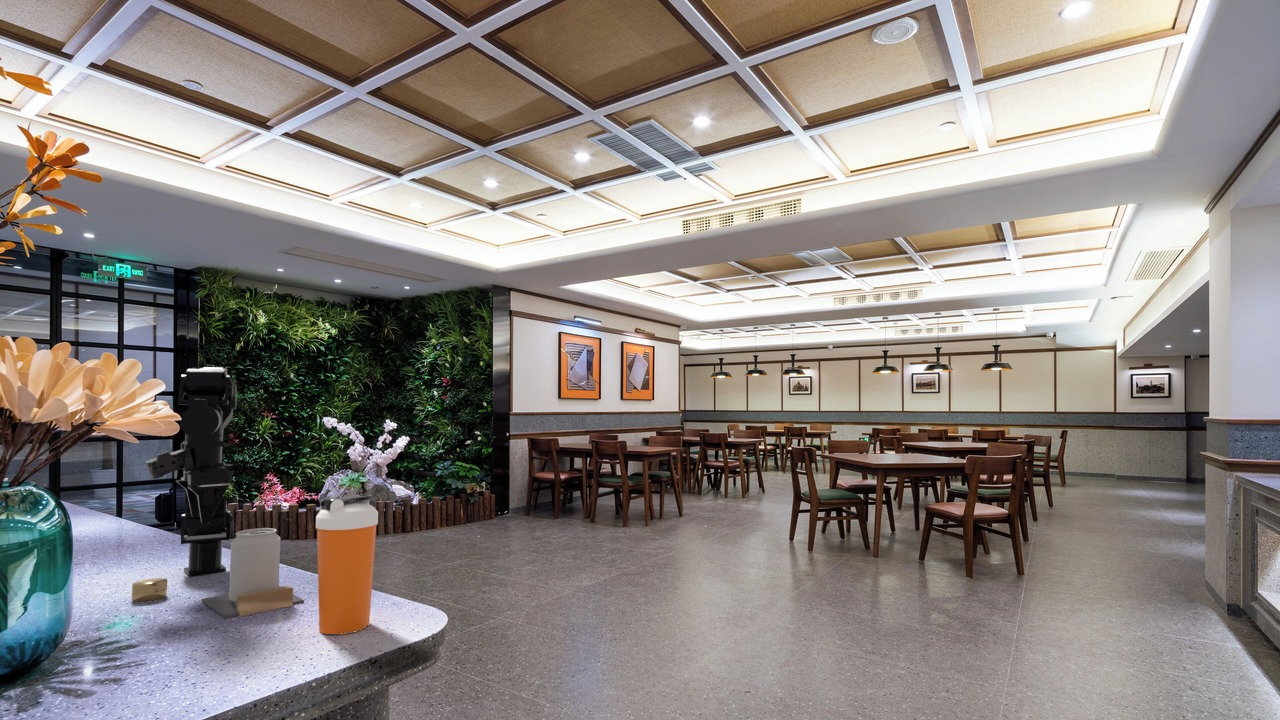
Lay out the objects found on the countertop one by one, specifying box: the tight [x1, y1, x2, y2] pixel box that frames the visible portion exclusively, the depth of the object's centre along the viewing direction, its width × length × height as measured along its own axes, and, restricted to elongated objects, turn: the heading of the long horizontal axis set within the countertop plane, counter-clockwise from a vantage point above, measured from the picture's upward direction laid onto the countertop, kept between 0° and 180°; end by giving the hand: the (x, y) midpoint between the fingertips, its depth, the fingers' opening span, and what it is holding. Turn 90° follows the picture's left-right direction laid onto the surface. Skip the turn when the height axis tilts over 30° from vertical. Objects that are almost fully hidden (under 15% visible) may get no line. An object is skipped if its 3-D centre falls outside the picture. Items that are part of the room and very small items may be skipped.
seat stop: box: [236, 585, 294, 617], centre depth 110 cm, size 2×8×3 cm, turn 137°
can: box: [228, 527, 281, 604], centre depth 114 cm, size 8×8×12 cm
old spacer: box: [131, 577, 168, 603], centre depth 117 cm, size 5×5×3 cm
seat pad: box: [201, 593, 305, 620], centre depth 115 cm, size 14×12×1 cm
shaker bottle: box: [315, 493, 379, 635], centre depth 102 cm, size 9×9×20 cm
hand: (200, 520), depth 122 cm, fingers open, 9 cm apart
